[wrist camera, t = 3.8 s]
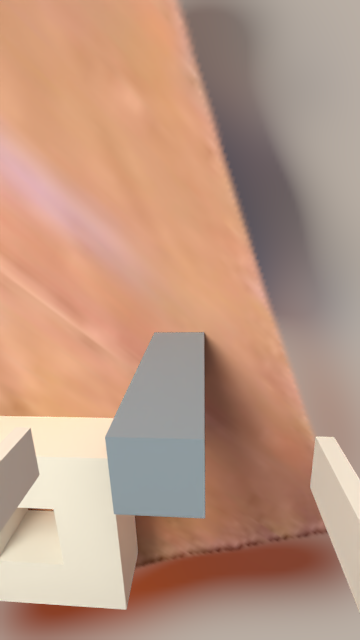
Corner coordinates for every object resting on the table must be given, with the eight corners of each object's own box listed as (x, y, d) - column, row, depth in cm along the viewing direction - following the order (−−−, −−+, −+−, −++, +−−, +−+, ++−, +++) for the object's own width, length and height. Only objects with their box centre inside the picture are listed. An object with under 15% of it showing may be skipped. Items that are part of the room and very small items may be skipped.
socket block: (-9, 544, 33) (-45, 597, 28) (-44, 415, 29) (-93, 452, 24) (138, 552, 32) (126, 609, 27) (125, 418, 27) (109, 458, 23)
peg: (157, 377, 26) (113, 514, 14) (154, 332, 25) (104, 436, 12) (204, 377, 26) (205, 518, 13) (204, 332, 24) (204, 439, 12)
